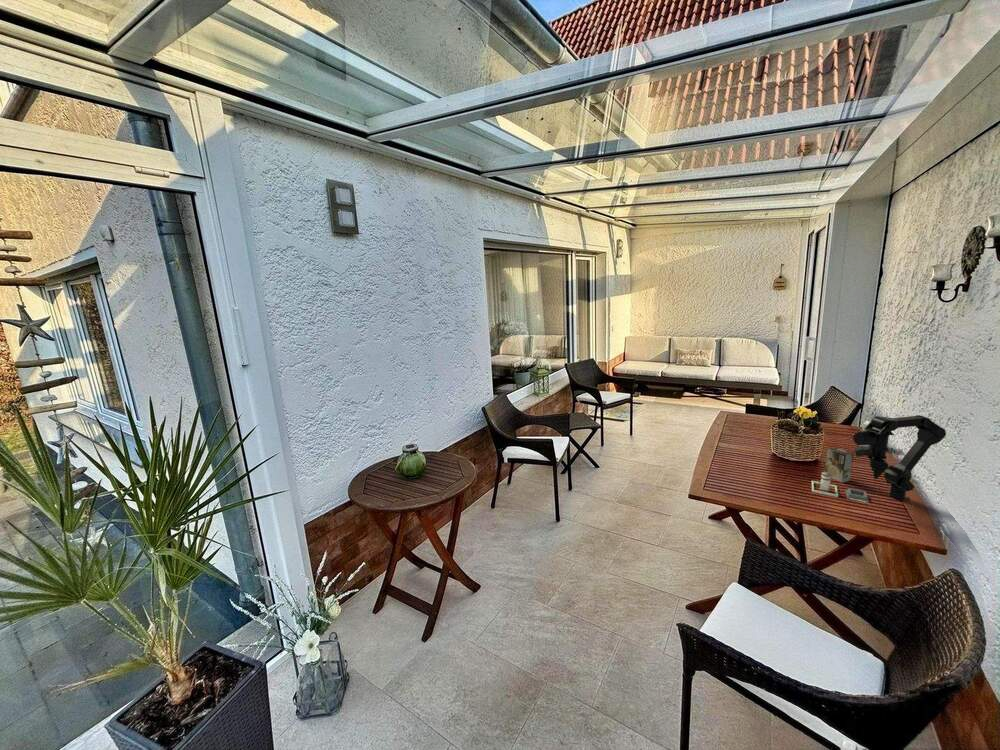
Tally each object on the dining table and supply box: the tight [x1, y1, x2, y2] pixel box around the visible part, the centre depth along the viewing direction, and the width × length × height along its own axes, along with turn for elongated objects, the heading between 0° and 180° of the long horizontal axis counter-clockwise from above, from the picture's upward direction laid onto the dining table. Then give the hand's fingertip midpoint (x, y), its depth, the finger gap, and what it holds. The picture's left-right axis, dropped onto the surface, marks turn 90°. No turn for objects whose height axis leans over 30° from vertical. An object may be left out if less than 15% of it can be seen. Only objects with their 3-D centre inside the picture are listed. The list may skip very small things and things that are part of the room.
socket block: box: [844, 487, 870, 504], centre depth 200 cm, size 10×8×3 cm
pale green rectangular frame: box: [811, 480, 839, 498], centre depth 207 cm, size 12×10×2 cm
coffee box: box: [824, 446, 855, 483], centre depth 217 cm, size 9×6×16 cm
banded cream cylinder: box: [819, 471, 832, 493], centre depth 206 cm, size 4×4×9 cm
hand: (874, 474), depth 195 cm, fingers open, 9 cm apart
